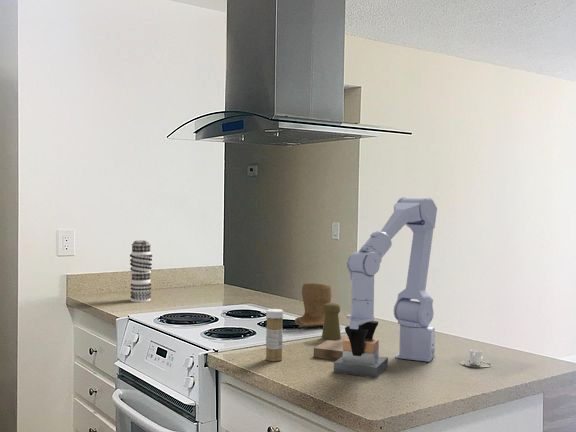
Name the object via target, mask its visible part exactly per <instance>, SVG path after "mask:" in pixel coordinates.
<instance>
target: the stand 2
mask: <svg viewBox="0 0 576 432" xmlns="http://www.w3.org/2000/svg"><path fill="white" fill-rule="evenodd" d="M388 367H389V357H387V356H378V360H377V361H376V362H375V363H374V364H370V363H361V362H353V361H344V360H343V356H342V357H341V358H339V359H338V360H335V361H334V362H333V373H337V374H343V373H344V374H343V375H351V374H352V376H358V375H361V377H366V376H368V377H369V378H374V377H377V378H378V377H379V376H381V374H382V373H383V372H384V371H386V370H387V368H388ZM368 377H367V378H368Z"/></svg>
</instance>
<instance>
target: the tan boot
mask: <svg viewBox="0 0 576 432" xmlns="http://www.w3.org/2000/svg"><path fill="white" fill-rule="evenodd" d="M301 297H302V301H303V307H304V314H302V316H299V317H296V318H295V319H294V323H295V325H296V324H297V325H299V327H298V328H300V329H301V328H303V329H304V328H306V329H307V328H317V327H323V325H324V319H325V312H324V310H323V308H324V305H325V304H327V303H332V288H331V284H329V283H321V282H305V283H303V284H302V286H301ZM297 325H296V326H297Z"/></svg>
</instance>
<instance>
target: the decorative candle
mask: <svg viewBox="0 0 576 432" xmlns="http://www.w3.org/2000/svg"><path fill="white" fill-rule="evenodd" d="M151 253H152V252H151V243H150V242H149V241H148V240H134V241H133V243H132V244H131V253H130V254H129V257H130V260H129V262H130V263H129V265H130V266H131V267H130V269H129V270H130V273H131V280H130V286H131V287H130V290H131V291H130V296H129V297H130V301H131V302H134V303H145V302H151V301H152V299H151V298H152V291H151V289H152V287H151V286H152V283H151V274H152V271H151V270H152V269H153V267H152V265H153V264H152V263H151V261H153V259H152V257H153V254H151Z"/></svg>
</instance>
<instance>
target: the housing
mask: <svg viewBox="0 0 576 432" xmlns="http://www.w3.org/2000/svg"><path fill="white" fill-rule="evenodd" d="M342 342H343V360H344V361H353V362H361V363H370V364H374V363H375V362H376V361H377V360H378V356H379V353H380V352H379V350H380V348H379V347H380V345H379V344H380V343H379V342H380V341H379V339H375V338H374V339H365V340H364V346H363V352H362V356H353V354H352V349H351V344H350V340H349V338H348V337H346V338H345V339H343V340H342Z"/></svg>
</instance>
